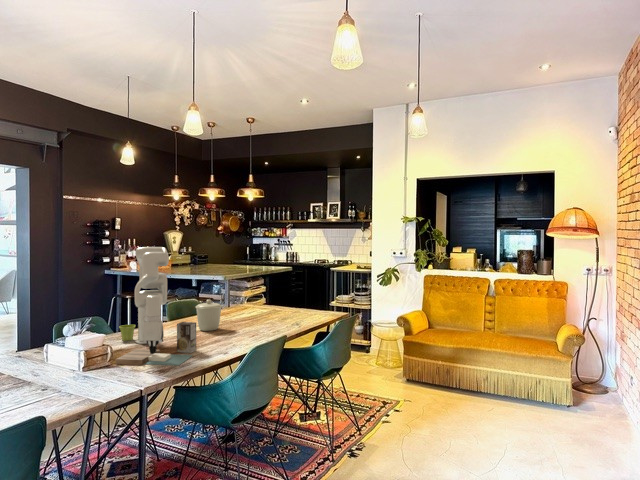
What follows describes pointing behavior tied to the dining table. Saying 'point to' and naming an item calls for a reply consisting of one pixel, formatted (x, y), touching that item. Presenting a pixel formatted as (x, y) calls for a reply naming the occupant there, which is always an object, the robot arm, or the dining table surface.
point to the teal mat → (171, 360)
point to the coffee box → (186, 337)
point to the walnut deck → (135, 357)
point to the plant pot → (127, 332)
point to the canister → (208, 315)
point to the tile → (159, 357)
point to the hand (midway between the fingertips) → (153, 353)
